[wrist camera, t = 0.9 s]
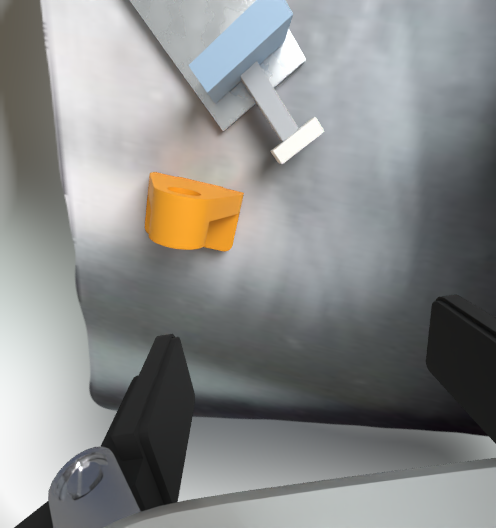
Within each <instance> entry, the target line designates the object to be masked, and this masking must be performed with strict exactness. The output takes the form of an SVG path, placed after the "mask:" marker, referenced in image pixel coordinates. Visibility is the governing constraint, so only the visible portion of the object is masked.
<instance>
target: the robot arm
mask: <svg viewBox="0 0 496 528" xmlns="http://www.w3.org/2000/svg"><path fill="white" fill-rule="evenodd" d="M426 365H427V368H428V369H429V371H430V372H431V373H432V374H433V376H434V377H435V378H436V379H437V380H438V381H439V382H440V383H441V384H442V385H443V386H444V388H445V389H446V390H447V391H448V392H449V393H450V394H451V395H452V396H453V397H454V399H455V400H456V401H457V402H458V403H459V404H460V405H461V406H462V407H463V408H464V409H465V411H466V412H467V413H468V414H469V415H470V416H471V417H472V418H473V419H474V420H475V422H476V423H477V424H478V425H479V426H480V427H481V428H482V429H483V430H484V431H485V432H486V434H487V435H488V436H489V437H490V438H491V439H492V440H493V441H494V442H495V443H496V318H495V317H493V316H491V315H490V314H488V313H486V312H485V311H483V310H481V309H480V308H478V307H477V306H475V305H473V304H472V303H470V302H468V301H467V300H465V299H463V298H462V297H460V296H458V295H449V296H442V297H438V298H437V299H436V301H435V302H433V304H432V309H431V318H430V328H429V337H428V347H427V356H426ZM194 404H195V394H194V390H193V386H192V382H191V378H190V375H189V371H188V367H187V363H186V360H185V356H184V352H183V348H182V344H181V341H180V338H179V337H175V336H174V335H173V334H168V335H161V336H157V337H156V339H155V341H154V343H153V345H152V348H151V350H150V352H149V354H148V356H147V359H146V361H145V363H144V365H143V367H142V370H141V372H140V374H139V376H136V377H134V378H133V380H132V382H131V384H130V386H129V388H128V390H127V392H126V394H125V396H124V398H123V401H122V403H121V405H120V407H119V409H118V411H117V413H116V415H115V417H114V420H113V422H112V424H111V426H110V428H109V430H108V432H107V434H106V436H105V439H104V441H103V442H102V445H101V447H93V448H90V449H87V450H85V451H83V452H81V453H80V454H78V455H76V456H75V457H73V458H72V459H71V460H70V461H68V462H67V463H66V464H65V465H64V466H63V468H61V470H60V471H59V472H58V473H57V475H56V477H55V478H54V480H53V481H52V484H51V486H50V489H49V496H48V501H47V502H46V503H45V504H44V505H43V506H41V507H40V508H39V509H37V510H36V511H35V512H33V513H32V514H31V515H30V516H29V517H27V518H26V519H25V520H23V521H22V522H21V523H19V524H18V525H17V526H16V527H14V528H496V458H491V459H483V460H475V461H467V462H459V463H451V464H443V465H436V466H428V467H420V468H412V469H405V470H397V471H390V472H382V473H375V474H367V475H359V476H352V477H344V478H337V479H330V480H322V481H315V482H307V483H300V484H293V485H286V486H279V487H271V488H264V489H256V490H250V491H242V492H236V493H230V494H223V495H217V496H211V497H204V498H198V499H192V500H186V501H182V502H177V501H178V496H179V490H180V485H181V478H182V473H183V467H184V462H185V456H186V450H187V444H188V439H189V433H190V427H191V422H192V416H193V410H194Z"/></svg>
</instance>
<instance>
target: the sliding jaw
mask: <svg viewBox="0 0 496 528" xmlns="http://www.w3.org/2000/svg"><path fill="white" fill-rule="evenodd" d="M292 16H293V13H292V11H291V10H290V8H289V6H288V4H287V2H286V1H285V0H256V1H255V2H254V3H253V4H252V5H251V6H250V7H249V8H248V9H247V10H245V11H244V12H243V13H242V14H241V15H240V16H239V17H238V18H237V19H236V20H235V21H234V22H233V23H232V24H231V25H230V26H229V27H228V28H227V29H226V30H225V31H224V32H223V33H222V34H221V35H219V36H218V37H217V38H216V39H215V40H214V41H213V42H212V43H211V44H210V45H209V46H208V47H207V48H206V49H205V50H204V51H203V52H202V53H201V54H200V55H199V56H198V57H197V58H196V59H195V60H193V61H192V62H191V63H190V64H189V65H188V66H189V67H190V69H191V70H192V72H193V73H194V74H195V76H196V77H197V79H198V80H199V82H200V83H201V84H202V86H203V87H204V89H205V90H206V92H207V93H208V94H209V96H210V97H211V99H212V100H213V102H214V103H215V104H216V103H217V102H218V101H219V100H220V99H221V98H223V97H224V96H225V95H226V94H227V93H228V92H229V91H230V90H231V89H233V88H234V87H235V86H236V85H237V84H238V83H239V82H240V81H242V82H243V84H244V85H245V87H246V88H247V90H248V91H249V93H250V95H251V96H252V98H253V99H254V101H255V102H256V104H257V105H258V107H259V108H260V110H261V111H262V113H263V114H264V116H265V117H266V119H267V121H268V122H269V124H270V125H271V127H272V128H273V130H274V131H275V133H276V134H277V136H278V137H279V139H280V140H281V143H280V144H279V145H277V146H276V147H275V148H274V149H272V150H271V153H272V154H273V156H274V157H275V159H276V160H277V162H278V163H280V164H283V163H284V162H286V161H287V160H288V159H290V158H291V157H292V156H293V155H295V154H296V153H297V152H299V151H300V150H301V149H302V148H304V147H305V146H306V145H308V144H309V143H310V142H311V141H313V140H314V139H315V138H317V137H318V136H319V135H320V134H322V133H323V132H324V130H323V128H322V127H321V125H320V123H319V122H318V120H317V118H316V117H314V118H313V119H311V120H309V121H307V122H306V123H305V124H304V125H302V126H301V127H300V128H298V126H297V125H296V123H295V121H294V120H293V118H292V116H291V115H290V113H289V112H288V110H287V108H286V107H285V105H284V104H283V102H282V100H281V99H280V97H279V96H278V94H277V92H276V91H275V89H274V88H273V86H272V84H271V83H270V81H269V80H268V78H267V76H266V75H265V73H264V72H263V70H262V68H261V67H260V65H259V64H261V63H262V62H263V61H264V60H265V59H266V58H267V57H268V56H269V55H271V54H272V53H273V52H274V51H275V50H276V49H277V48H278V47H280V46H281V45H282V44H283V43H284V42H285V39H286V35H287V32H288V29H289V26H290V23H291V19H292Z"/></svg>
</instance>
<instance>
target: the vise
mask: <svg viewBox="0 0 496 528" xmlns="http://www.w3.org/2000/svg"><path fill="white" fill-rule="evenodd" d="M255 1H256V0H130V2H131V3H132V5H133V6H134V7H135V9H136V10H137V12H138V13H139V14H140V16H141V17H142V19H143V20H144V21H145V23H146V24H147V26H148V27H149V28H150V30H151V31H152V33H153V34H154V35H155V37H156V38H157V40H158V41H159V42H160V44H161V45H162V47H163V48H164V49H165V51H166V52H167V54H168V55H169V56H170V58H171V59H172V60H173V62H174V63H175V65H176V66H177V67H178V69H179V70H180V72H181V73H182V74H183V76H184V77H185V79H186V80H187V81H188V83H189V84H190V86H191V87H192V88H193V90H194V91H195V93H196V94H197V95H198V97H199V98H200V100H201V101H202V102H203V104H204V105H205V107H206V108H207V109H208V111H209V112H210V114H211V115H212V116H213V118H214V119H215V121H216V122H217V123H218V125H219V126H220V128H221V129H222V130H223V131H225V130H226V129H227V128H228V127H229V126H231V125H232V124H233V123H234V122H235V121H236V120H238V119H239V118H240V117H241V116H242V115H243V114H245V113H246V112H247V111H248V110H249V109H250V108H252V107H253V106H254V105H255V104H256V102H255V101H254V99H253V98H252V96H251V95H250V93H249V91H248V90H247V88H246V87H245V85H244V84H243V82H242V81H240V82H239V83H238V84H237V85H236V86H235V87H234V88H233V89H231V90H230V91H229V92H228V93H227V94H226V95H225V96H224V97H223V98H221V99H220V100H219V101H218V102H217V103H216V104H215V103H214V102H213V100H212V99H211V97H210V96H209V94H208V93H207V92H206V90H205V89H204V87H203V86H202V84H201V83H200V82H199V80H198V79H197V77H196V76H195V74H194V73H193V72H192V70H191V69H190V67H189V66H188V65H189V64H190V63H191V62H192V61H193V60H195V59H196V58H197V57H198V56H199V55H200V54H201V53H202V52H203V51H204V50H205V49H206V48H207V47H208V46H209V45H210V44H211V43H212V42H213V41H214V40H215V39H216V38H217V37H218V36H219V35H221V34H222V33H223V32H224V31H225V30H226V29H227V28H228V27H229V26H230V25H231V24H232V23H233V22H234V21H235V20H236V19H237V18H238V17H239V16H240V15H241V14H242V13H243V12H244V11H245V10H247V9H248V8H249V7H250V6H251V5H252V4H253V3H254V2H255ZM305 60H306V58H305V57H304V55H303V53H302V51H301V50H300V48H299V46H298V44H297V43H296V41H295V39H294V37H293V36H292V34H291V32H290V30H289V29H288V32H287V35H286V39H285V42H284V43H283V44H282V45H281V46H280V47H278V48H277V49H276V50H275V51H274V52H273V53H272V54H271V55H269V56H268V57H267V58H266V59H265V60H264V61H263V62H262V63H261V64H259V65H260V67H261V68H262V70H263V72H264V73H265V75H266V76H267V78H268V80H269V81H270V83H271V84H272V86H273V88H275V87H276V86H277V85H278V84H280V83H281V82H282V81H283V80H284V79H285V78H287V77H288V76H289V75H290V74H291V73H292V72H294V71H295V70H296V69H297V68H298V67H299V66H301V65H302V64H303V63H304V62H305Z"/></svg>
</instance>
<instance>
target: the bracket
mask: <svg viewBox="0 0 496 528" xmlns="http://www.w3.org/2000/svg"><path fill="white" fill-rule="evenodd" d="M243 194H244V193H242V192H238V191H234V190H230V189H225V188H223V187H220V186H216V185H212V184H207V183H203V182H199V181H195V180H190V179H186V178H182V177H174V176H170V175H165V174H161V173H157V172H153V173H150V176H149V187H148V197H147V208H146V218H145V230H146V232H147V233H148V234H149V238H150V239H151V240H152V241H153V242H155V243H157V244H160V245H163V246H166V247H170V248H175V249H185V250H192V249H199V248H202V247H206V248H211V249H215V250H220V251H228V250H230V249H231V247H232V245H233V240H234V236H235V231H236V227H237V222H238V217H239V213H240V208H241V204H242V199H243Z"/></svg>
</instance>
